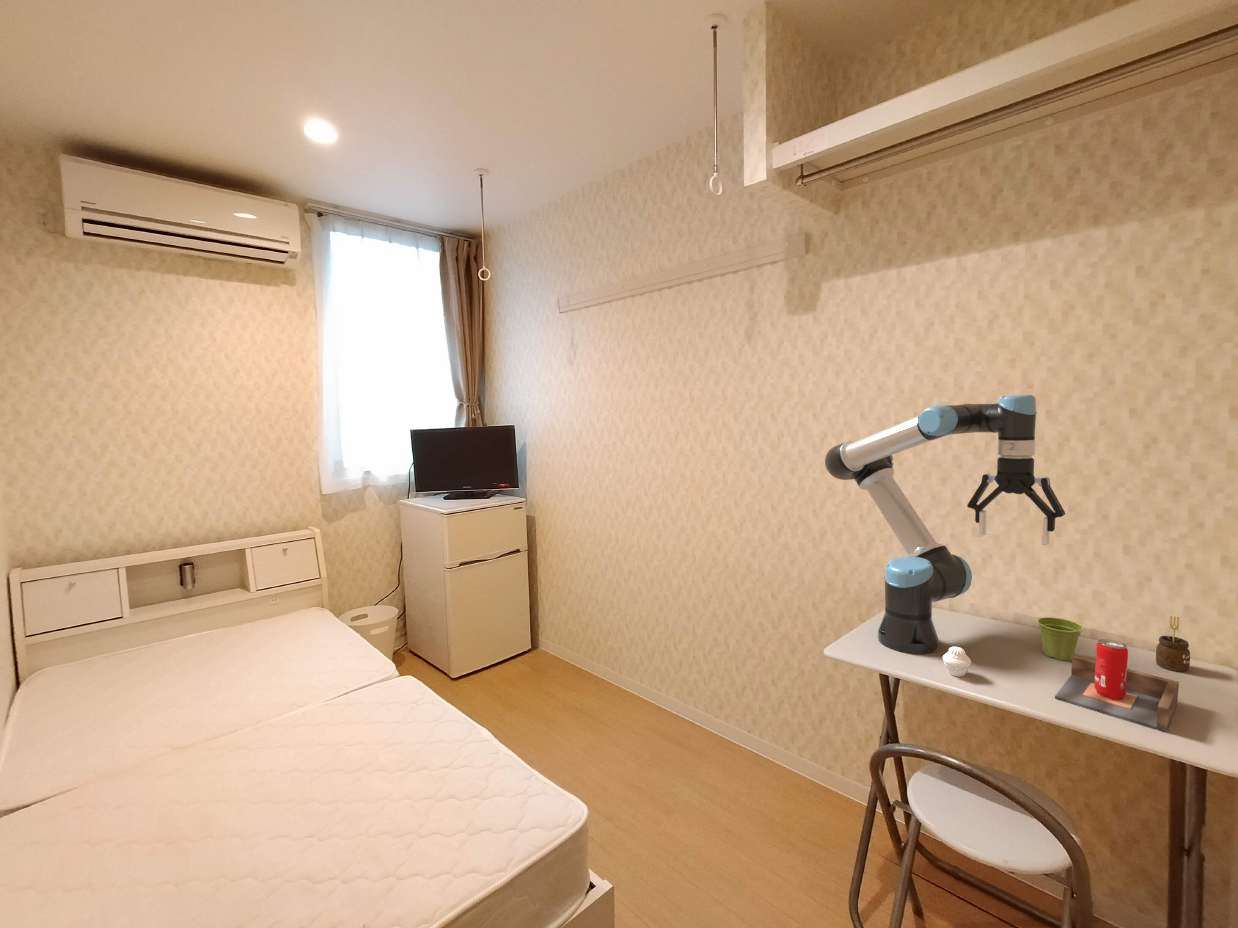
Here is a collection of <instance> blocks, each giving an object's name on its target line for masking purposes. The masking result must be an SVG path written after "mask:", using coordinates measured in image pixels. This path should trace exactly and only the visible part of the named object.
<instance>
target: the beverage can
mask: <svg viewBox="0 0 1238 928" xmlns="http://www.w3.org/2000/svg"><path fill="white" fill-rule="evenodd" d="M1127 647H1128V646H1127V644H1125V643H1123V642H1121V641H1118V640H1116V639H1115V640H1114V639H1108V638H1101V639H1098V642H1097V643H1096V652H1095V654H1096V655H1095V661H1096V667H1095V689H1096V691H1097V694H1098V695H1100V696H1102V697H1104V698H1107V699H1112V700H1122V699H1123V697H1124V696H1125V694H1126V677H1127V669H1128V657H1129V649H1128V648H1127Z"/></svg>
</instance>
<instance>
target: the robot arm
mask: <svg viewBox="0 0 1238 928" xmlns="http://www.w3.org/2000/svg"><path fill="white" fill-rule="evenodd" d="M1037 414H1038V413H1037V400H1036V397H1035V396H1034V395H1032V394H1018V395H1017V394H1016V395H1015V394H1014V395H1013V394H1012V395H1001V396H1000V397H999V400H998V403H963V404H951V405H950V404H949V405H947V404H945V405H944V404H937V405H934V406H928V407H927V408H925V409H923V411H921V413H920V414H918V415H917V416H914V417H911V418H909V419H905V420H904V421H902V422H899V423H897V424H894V425H892V426H889V427H887V428H885V429H883V430H880V431H877V432H875V433H873V434H870V435H868V436H865V437H863V438H861V439H858V440H856V441H852V440H847V441H845V442H843V443H840V444H837V445H835V446H833V447H831V448H830V449H829V450H828V451H827V453H826V455H825V459H824V463H825V464H824V465H825V469H826V470H827V472H828V473H829V475H831V476H832V477H833V478H835V479H838V480H841V481H850V480H854V481H855V483H856V484H857V486H858V488H859V489H860V490H864V491H867V492H868V494H869V496H870V497H871V498H872V500H873V501H874V503H875V505H876V506H877V509H878V510H879V511H880V513H881V514H882V516H883V517H884V520H885V521H886V522H887V524H888V526H889V527H890V529H891V530H892V531H893V533H894V534H895V536H896V538H897V540H898V541H899V543H900V544H901V546H902V548H903V549H904V550H905V552H906V554H907V555H908V556H907V557H906V556H901V557H896V558H893V559H891V560H889V562H887V563H886V566H885V574H884V598H885V599H884V615H883V617H882V619H881V623H880V625H879V628H878V630H877V640H878V639H879V640H878V642H879V643H881V644H882V645H883V646H884V647H887V648H889V649H892V650H895V651H899V652H902V653H909V654H929V653H934V652H935V651H937V650H938V649H939V641H940V640H939V636H938V633H937V631H936V628H935V624H934V621H933V617H932V614H933V613H932V612H933V611H932V610H933V603H936V602H939V601H944V600H948V599H955V598H956V597H958V596H961V595H963V594H965V593H967V591H968V590H969V589H970V588H971V585H972V579H973V572H972V569H971V566H970V565H969V563H968V562H967V561H966V560H965V559H964V558H963V557H961V556H958V555H957V554H952V553H951V552H950V550H949V549H948V547H947V546H946V545H945V544H942V543H940V542H939V543H938V542H937V541H936V539H935V538H934V537H933V535H932V533H931V532H930V530H929V529H928V528H927V526H926V524H925V523H924V521H923V520H922V519H921V517H920V516H919V514H918V512H917V511H916V509H915V508H914V506H913V505H912V504H911V502H910V501H909V499H908V498H907V496H906V495H905V493H904V491H903V490H902V489H901V487H900V486H899V484H898V483H897V482H896V480H895V479H894V474H895V470H894V468H893V467H894V462H893V461H894V457H893V455H895V454H899V453H901V452H904V451H906V450H907V451H908V450H909V449H912V448H915V447H917V446H921V445H924V444H925V443H928V442H931V441H934V440H938V439H940V438H943V437H946V436H949V435H960V434H970V433H971V434H973V433H992V434H996V433H997V435H998V436H997V437H998V438H997V455H998V456H999V457H998V458H997V459H996V460H997V463H996V464H997V465H996V470H997V471H996V475H992V474H991V473H986V474H983V475H982V477H981V482H980V485H978V487H977V489H976V490H975V492H974V493H973V495H972V497H971V499H970V500H969V502H968V503H967V508H968V509H971V510H974V514H975V515H974V517H975V519H974V522H975V523H976V524H978V536H979V537H984V536H986V535H987V533H986V532H987V510H984V509H985V508H986V507H987V506H988V505H989V504H990V503H992V501H993V500H995V499H996V498H997V497H998V496H999V495H1000V494H1002V493H1003V492H1004V493H1005V494H1015V495H1022V494H1025V496H1026V497H1028V498H1029V499H1030V501H1032V502H1033V504H1035V506H1036V507H1037V508H1038V509H1039V510H1040V511H1041V512H1042V513H1043V515H1045V517H1043V518H1042V538H1041V539H1042V540H1041V544H1042V545H1043V546H1047V545H1048V544H1050V532H1054V531H1055V530H1056V528H1055V527H1056V518H1062V517H1064V516H1065V515H1066V512H1065V510H1064V508H1063V505H1062V504H1061V502H1060V501H1059V499H1058V497H1057V496H1056V494H1055V492H1054V490H1053V489H1052V487H1051V486H1052V485H1051V479H1050V478H1049V477H1048V476H1044V477H1035V475H1034V473H1035V472H1034V471H1035V459H1034V456H1035V455H1036V453H1035V452H1036V451H1035V449H1036V448H1035V447H1036V446H1035V445H1036V440H1035V438H1036V437H1035V435H1036V420H1037V419H1036V418H1037ZM993 481H995V483H996V484H997V485H998V486H997V487H996V488H995V489H994V490H993V491H992V492H991V493H990V494H988V496H986V497H985V498H984V499H982V501H981V502H980V503H978V502H979V501H980V499H981V498H982V496H983V494H984V493H985V491H986V490H987V489H988V486H989V485H990V483H993ZM1035 484H1037V486H1038V487H1041V490H1042V491H1043V493H1044V495H1045V497H1046V499H1047V501H1048V502H1049V505H1050V506H1051V507H1050V506H1049V505H1048V504H1047V503H1046V502H1045V501H1044V499H1043V498H1042V497H1040V495H1039V494H1037V491H1036V490H1035V489H1034V488H1033V486H1034V485H1035ZM1052 509H1053V510H1052ZM1042 545H1041V546H1042Z"/></svg>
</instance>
